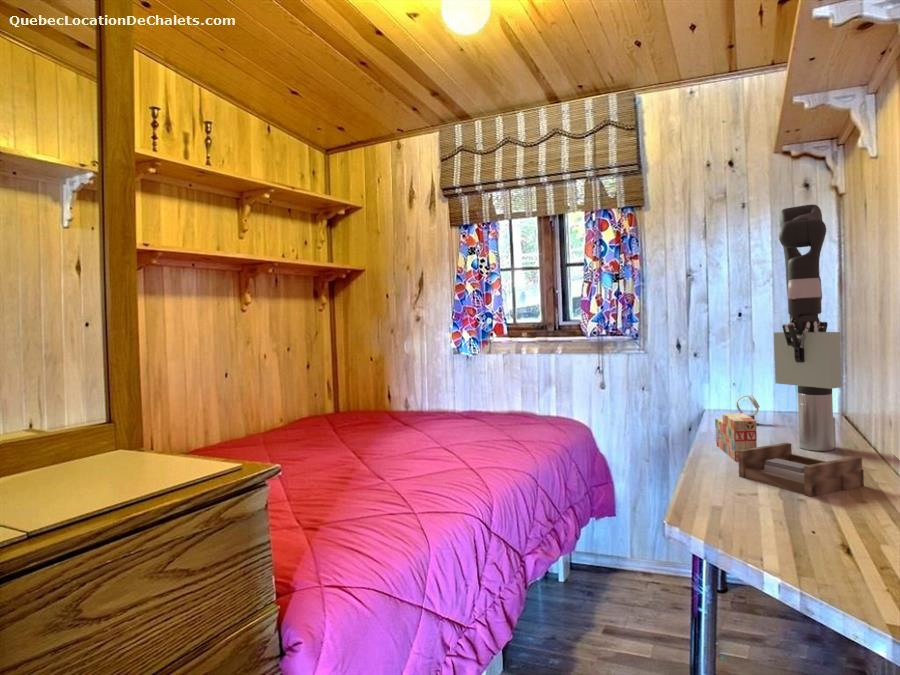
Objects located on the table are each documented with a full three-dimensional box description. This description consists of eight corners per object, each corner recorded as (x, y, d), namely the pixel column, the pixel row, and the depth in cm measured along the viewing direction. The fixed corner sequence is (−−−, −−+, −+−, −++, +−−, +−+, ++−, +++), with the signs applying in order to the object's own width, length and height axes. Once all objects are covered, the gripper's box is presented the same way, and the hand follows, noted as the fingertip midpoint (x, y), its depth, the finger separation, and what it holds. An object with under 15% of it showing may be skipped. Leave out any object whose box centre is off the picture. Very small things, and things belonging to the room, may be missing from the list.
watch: (760, 425, 225) (759, 396, 224) (737, 425, 228) (736, 396, 228) (759, 423, 230) (758, 394, 229) (736, 422, 233) (735, 394, 233)
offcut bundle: (773, 475, 160) (772, 456, 160) (826, 489, 146) (825, 468, 146) (759, 477, 159) (758, 459, 158) (811, 492, 145) (810, 471, 144)
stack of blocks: (715, 445, 196) (714, 408, 196) (736, 445, 195) (734, 408, 195) (735, 461, 175) (733, 420, 175) (757, 461, 174) (756, 419, 174)
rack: (788, 467, 166) (787, 442, 166) (863, 485, 146) (863, 457, 146) (739, 476, 160) (738, 450, 160) (810, 496, 140) (809, 467, 140)
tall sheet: (786, 382, 165) (784, 331, 165) (841, 387, 150) (840, 331, 150) (775, 383, 164) (773, 332, 163) (830, 388, 149) (828, 332, 148)
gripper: (810, 296, 162) (812, 359, 163) (771, 298, 157) (773, 362, 158) (837, 294, 155) (839, 360, 156) (797, 296, 150) (799, 364, 151)
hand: (806, 361), depth 157 cm, fingers closed on tall sheet, 4 cm apart
